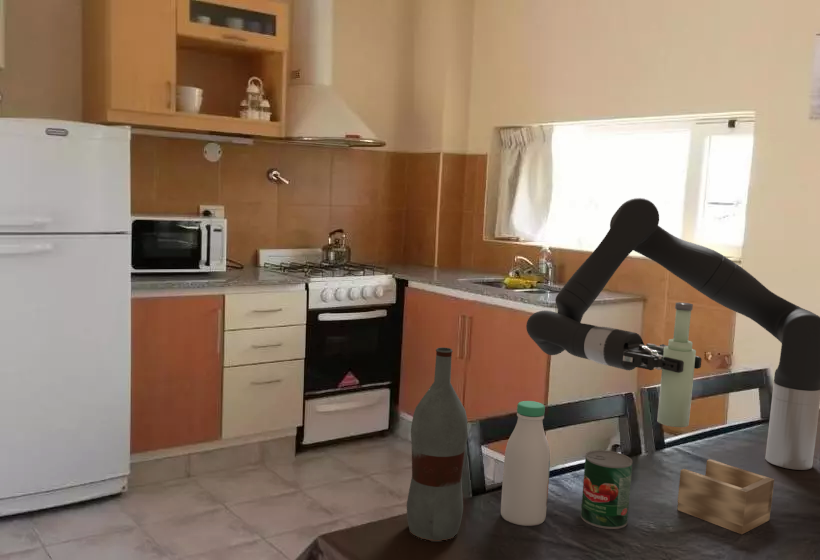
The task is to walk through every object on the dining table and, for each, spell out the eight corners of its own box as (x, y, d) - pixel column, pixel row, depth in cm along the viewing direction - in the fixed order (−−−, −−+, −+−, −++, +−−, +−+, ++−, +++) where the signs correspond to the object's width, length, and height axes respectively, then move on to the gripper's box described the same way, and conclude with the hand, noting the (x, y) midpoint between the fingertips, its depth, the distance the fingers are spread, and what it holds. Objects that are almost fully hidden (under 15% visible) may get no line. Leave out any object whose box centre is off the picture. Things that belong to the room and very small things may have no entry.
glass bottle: (654, 417, 149) (664, 300, 147) (684, 419, 149) (695, 302, 146) (661, 426, 144) (672, 305, 141) (692, 428, 144) (704, 307, 141)
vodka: (417, 514, 133) (427, 340, 130) (468, 525, 130) (480, 347, 126) (396, 535, 125) (406, 350, 121) (451, 548, 121) (462, 358, 118)
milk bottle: (544, 530, 130) (554, 412, 127) (498, 523, 131) (506, 407, 129) (546, 511, 137) (555, 400, 135) (502, 505, 139) (510, 395, 136)
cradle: (676, 510, 141) (680, 470, 140) (706, 497, 148) (710, 459, 147) (741, 534, 132) (746, 492, 131) (769, 520, 139) (774, 479, 138)
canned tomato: (628, 514, 138) (634, 454, 136) (625, 532, 130) (631, 469, 129) (583, 506, 140) (588, 447, 139) (577, 523, 133) (582, 461, 131)
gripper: (592, 332, 151) (672, 349, 138) (635, 325, 160) (713, 341, 147) (589, 370, 152) (668, 390, 139) (632, 361, 161) (709, 380, 148)
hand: (691, 365), depth 143 cm, fingers closed on glass bottle, 5 cm apart
